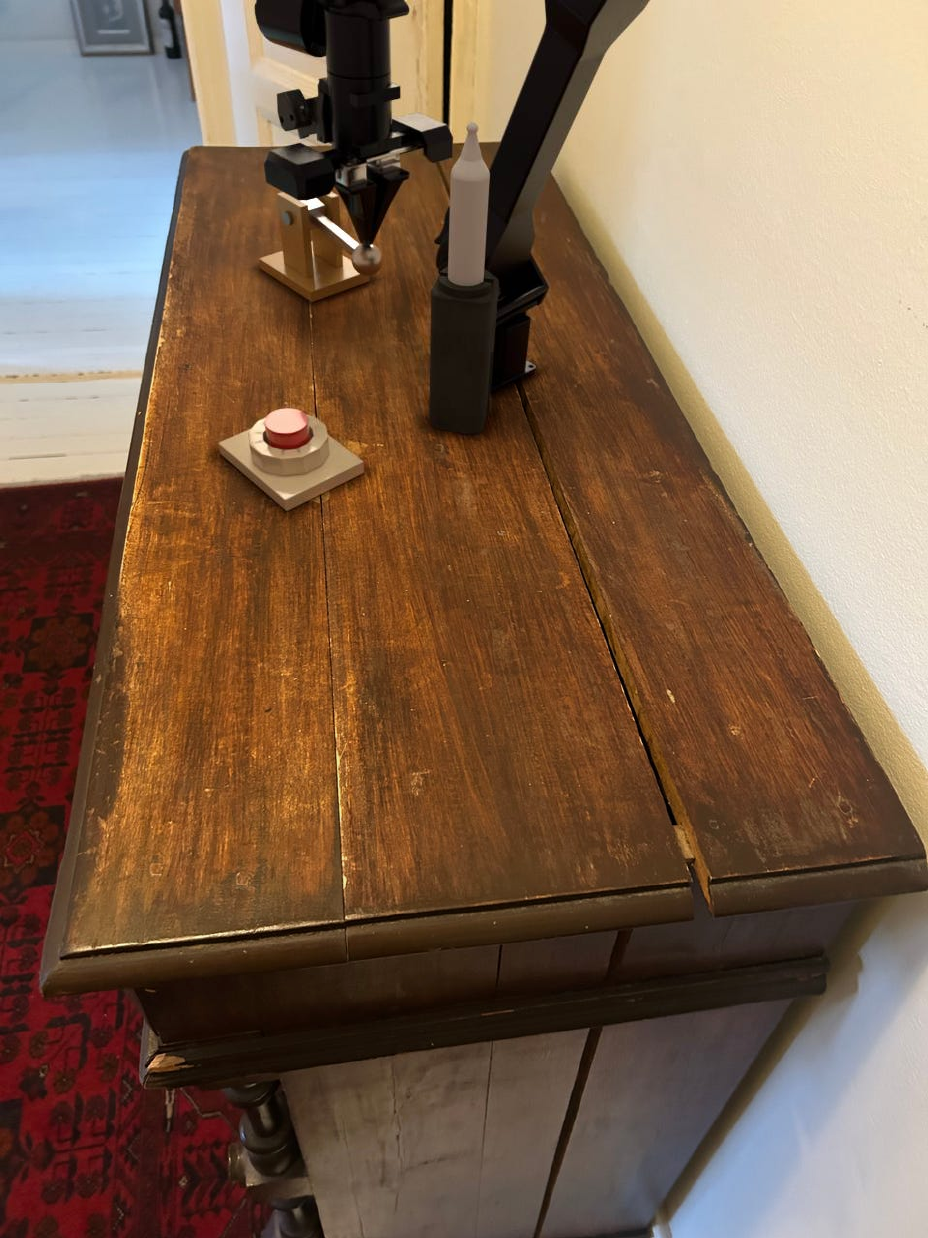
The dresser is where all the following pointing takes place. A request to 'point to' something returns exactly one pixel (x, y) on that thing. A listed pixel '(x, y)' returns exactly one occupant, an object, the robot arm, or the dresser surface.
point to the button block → (292, 463)
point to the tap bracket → (310, 252)
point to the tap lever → (345, 240)
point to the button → (287, 429)
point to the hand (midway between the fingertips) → (366, 243)
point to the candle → (464, 304)
